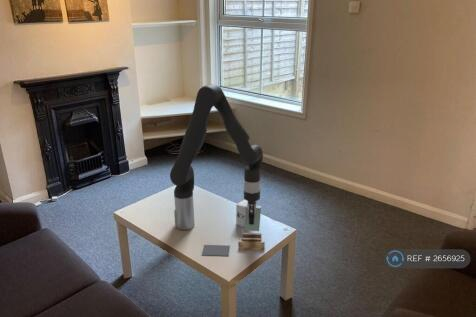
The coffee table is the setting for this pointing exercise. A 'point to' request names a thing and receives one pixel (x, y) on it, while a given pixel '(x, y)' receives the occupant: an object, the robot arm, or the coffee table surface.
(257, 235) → the walnut slot block
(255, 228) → the grey-green rectangular block
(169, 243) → the coffee table surface
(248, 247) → the wooden bar
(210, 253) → the rubber mat
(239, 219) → the ink box
